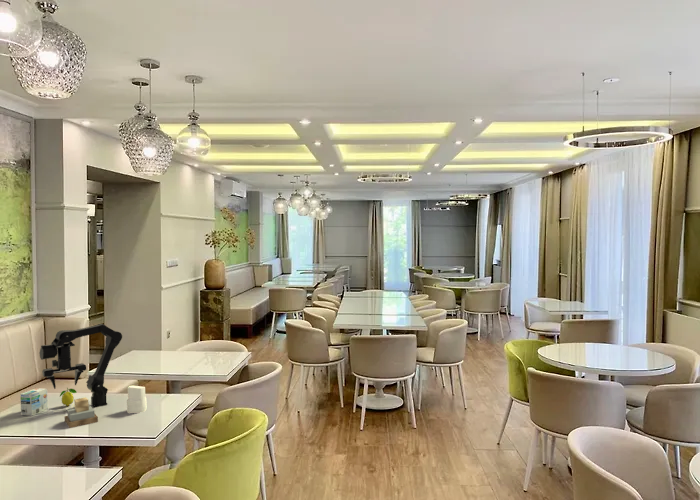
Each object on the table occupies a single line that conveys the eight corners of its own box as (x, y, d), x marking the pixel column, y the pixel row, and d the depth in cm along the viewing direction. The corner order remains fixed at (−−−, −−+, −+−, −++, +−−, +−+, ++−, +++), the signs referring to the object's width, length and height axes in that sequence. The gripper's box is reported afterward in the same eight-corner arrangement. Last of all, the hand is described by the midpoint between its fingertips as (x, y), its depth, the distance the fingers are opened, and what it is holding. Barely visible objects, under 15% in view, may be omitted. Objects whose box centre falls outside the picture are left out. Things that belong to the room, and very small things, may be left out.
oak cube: (86, 407, 250) (85, 397, 249) (88, 409, 246) (88, 399, 246) (74, 409, 246) (74, 399, 246) (77, 412, 243) (76, 402, 242)
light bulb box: (31, 416, 256) (31, 394, 255) (20, 415, 257) (19, 393, 257) (48, 409, 266) (47, 388, 266) (37, 408, 267) (36, 387, 267)
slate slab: (90, 411, 253) (90, 405, 253) (94, 417, 245) (94, 410, 245) (67, 416, 247) (67, 409, 247) (70, 421, 239) (70, 415, 239)
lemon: (77, 405, 271) (76, 386, 271) (66, 408, 266) (65, 389, 266) (70, 403, 274) (69, 384, 274) (59, 406, 270) (58, 387, 269)
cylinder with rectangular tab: (123, 412, 258) (122, 388, 257) (137, 407, 266) (136, 383, 266) (137, 414, 254) (136, 390, 254) (150, 408, 263) (149, 385, 262)
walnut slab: (92, 416, 254) (92, 410, 254) (97, 423, 245) (97, 416, 245) (64, 422, 247) (64, 416, 247) (69, 429, 238) (69, 422, 237)
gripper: (80, 350, 271) (81, 380, 271) (39, 356, 259) (40, 387, 259) (86, 354, 262) (87, 384, 263) (43, 360, 251) (45, 392, 251)
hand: (65, 386), depth 259 cm, fingers open, 9 cm apart
